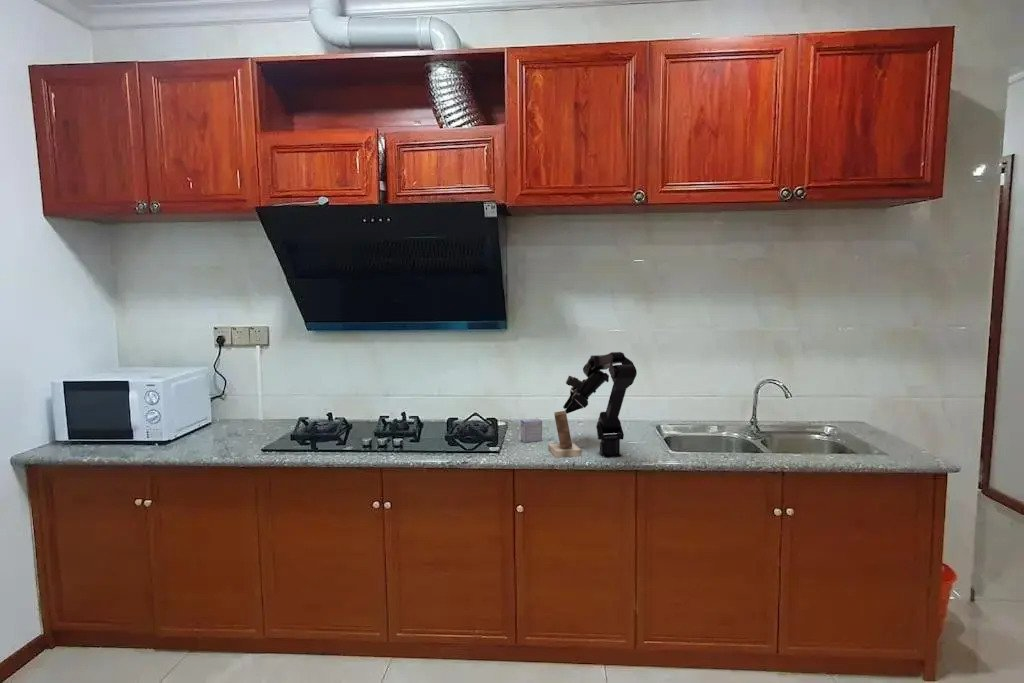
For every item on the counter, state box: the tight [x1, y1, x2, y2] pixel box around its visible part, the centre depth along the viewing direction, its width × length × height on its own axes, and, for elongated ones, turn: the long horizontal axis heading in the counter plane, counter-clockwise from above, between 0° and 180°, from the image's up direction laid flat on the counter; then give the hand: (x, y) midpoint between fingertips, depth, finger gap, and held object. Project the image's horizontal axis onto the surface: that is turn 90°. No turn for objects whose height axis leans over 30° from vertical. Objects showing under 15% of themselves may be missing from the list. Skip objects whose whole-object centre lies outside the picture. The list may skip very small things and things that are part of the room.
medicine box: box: [520, 417, 543, 443], centre depth 246 cm, size 8×4×9 cm, turn 111°
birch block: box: [547, 442, 582, 459], centre depth 229 cm, size 10×10×3 cm
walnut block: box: [553, 410, 573, 448], centre depth 227 cm, size 4×4×13 cm
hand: (564, 410), depth 240 cm, fingers open, 9 cm apart
